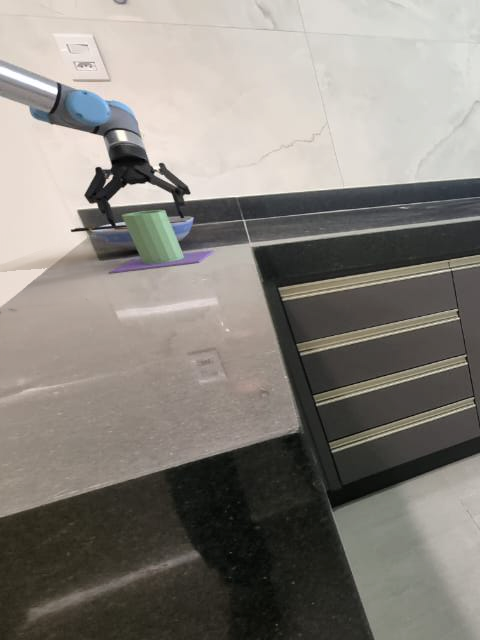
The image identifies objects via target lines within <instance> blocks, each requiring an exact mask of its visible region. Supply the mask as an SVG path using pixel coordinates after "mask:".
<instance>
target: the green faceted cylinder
mask: <svg viewBox="0 0 480 640" xmlns="http://www.w3.org/2000/svg"><path fill="white" fill-rule="evenodd" d="M121 217H122V220H123V222H125V223H126V226H127V228H128V231H129V233H130V235H131V237H132V239H133V242H134V244H135V246H136V248H137V251H136V252H137V253H138V255H139V257H140V259H142V261H143V263H144V264H161V263H167V262H172V261H177V260H180V259H183V258H184V256H183V254H184V253H183V251H182V249H181V246H180V243H179V241H178V240H177V238H176V236H175V233H174V231H173V228H172V226H171V224H170V221H169V219H168V217H169V216H168V214H167V211H166V210H165V209H154V210H153V209H152V210H143V211H135V212H129V213H124V214H122V215H121Z"/></svg>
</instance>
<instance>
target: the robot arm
mask: <svg viewBox="0 0 480 640" xmlns="http://www.w3.org/2000/svg"><path fill="white" fill-rule="evenodd" d="M0 98H4V99H7V100H10V101H13V102H15V103H19V104H22V105H25V106H27V107H28V108H29V109H28V110H29V113H30V115H31V117H32V118H33V119H35V120H37V121H39V122H40V121H41V122H45V123H48V124H50V125H55V126H59V127H63V128H68V129H72V130H77V131H81V132H83V133H84V132H85V133H89V134H93V135H96V136H101V137H102V138H103V140H104V144H105V148H106V151H107V155H108V158H109V162H110V165H111V168H110V169H107V168H105V169H104V168H102V167H100V166H96V167H95V168H94V169H95V170H94V171H95V174H94V176H93V178H92V180H91V181H90V183H89V186H88V187H87V189H86V191H85V193H84V195H83V196H84V197H85V199H86V200H87V202H88V204H91V205H93V204H96V205H97V209H98V211H99V212H100V214H102V215H105V217H106V220H107V221H108V223H109V224H111V225H112V226H116V224H115V223H116V221H115V220H116V219H115V218H114V213H113V210H112V206H111V204H110V202H109V200H111V199H112V198H113V197H114V196H115V195H116V194H117V193H118V192H119V191H120V190H121V189H124V188H125V187H126V186H127V185H129V186H131V185H132V186H133V185H144V184H146V183H148V184H150V185H152V186H157V187H158V188H160V189H162V190H164V191H165V192H168V193H170V194H171V195H172V199H173V202H174V205H175V208H176V211H177V213H178V215H179V216H180V217H181V218H184V216H185V215H184V212H183V209H182V207H184V206H186V202H185V199H184V196H185V195H186V196H190V195H191V194H192V193H191V192H192V191H190V188H189V186H188V185H187V184H186V183H185V182H183V181H182V180H181V179H179V177H177V176H176V175H175V174H174V173H173V172H171V171H170V170H169V169H168V167H167V166H166V164H165V163H164V162H159V163H158V165H154V166H153V165H151V163H150V159H149V156H148V154H147V150H146V147H145V143H144V141H143V139H142V134H141V131H140V127H139V122H138V120H137V118H136V116H135V114H134V112H133V110H132V109H131V108H130V107H129V106H128V105H127V104H126V103H123V102H120V101H119V100H118V101H117V100H113V99H112V100H108V99H104V98H103V97H102V96H100V95H99V94H97V93H95V92H93V91H89V90H86V89H76V88H75V87H72V86H70V85H67V84H64V83H61V82H58V81H55V80H54V79H51V78H48V77H46V76H44V75H41V74H38V73H35V72H33V71H31V70H28V69H26V68H23V67H20V66H18V65H15V64H13V63H10V62H8V61H5V60H3V59H0ZM155 173H158V174H160V175H161V176H164V178H166V179H167V180H168V181H169V182H168V181H166V180H164V179H163V178H161V177H158V175H157V176H156V175H155ZM110 176H112V178H111V180H110V181H108V182H107V180H109V178H110ZM106 182H107V183H106Z"/></svg>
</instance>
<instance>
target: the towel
mask: <svg viewBox="0 0 480 640" xmlns="http://www.w3.org/2000/svg"><path fill="white" fill-rule="evenodd" d="M213 253H214V250H204V251H197V252H187V253H183V256H184V258H183V259H180V260H177V261H172V262H167V263H161V264H144V263H143V261H142V259H141V258H135V259H130V260H128V261H126V262H124V263H123V264H120V265H119V266H117V267H115V268H113V269H111V270H110V271H108V274H115V273H116V274H117V273H124V272H125V273H126V272H134V271H140V270H149V269H159V268H165V267H167V268H168V267H174V266H183V265H191V264H199V263H201V262H202V261H203V260H205V259H206V258H207V257H209V256H210V255H212V254H213Z"/></svg>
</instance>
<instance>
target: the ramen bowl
mask: <svg viewBox="0 0 480 640" xmlns="http://www.w3.org/2000/svg"><path fill="white" fill-rule="evenodd" d="M168 219H169V221H170V224H171V226H172V228H173V231H174V233H175V236H176V238H177V240H178V242H180V241H182V240H183V239H184V238H185V237H187V236H188V234H189V233H190V231H191V229H192V226H193V224H194V216H185V215H184V218H181V217H180V215H179V216H168ZM115 224H116V226H112V225H111V224H110V223H108V224H105V225H100V226H91V227H90V226H89V227H75V228H74V229H70V232H71V233H77V232H91V234H93V235H94V236H95V237H97V238H98V239H101V241H103V242H105V243H107V244H109V245H111V246H114V247H116V248H121V249H125V250H132V251H133V250H134V251H136V252H138V251H137V248H136V246H135V244H134V242H133V239H132V237H131V235H130V233H129V231H128V228H127V226H126V223H125V222H124V221H122V222H115Z"/></svg>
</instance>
